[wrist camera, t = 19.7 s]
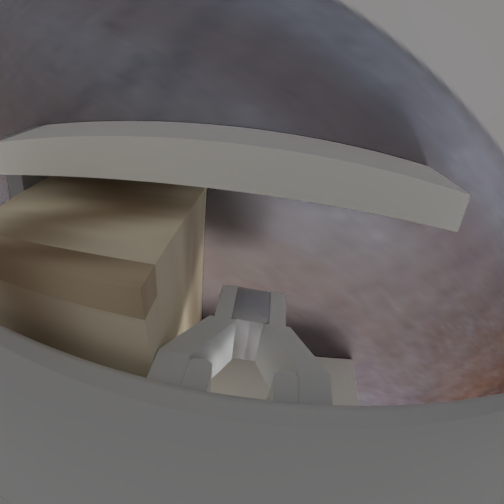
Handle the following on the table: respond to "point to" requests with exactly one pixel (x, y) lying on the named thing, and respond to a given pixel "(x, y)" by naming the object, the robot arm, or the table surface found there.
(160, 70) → the table surface
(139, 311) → the box
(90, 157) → the bay
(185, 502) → the robot arm
